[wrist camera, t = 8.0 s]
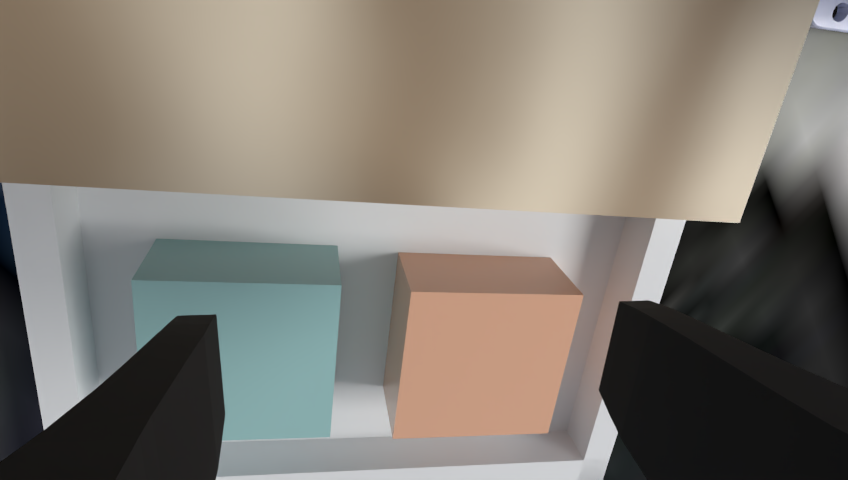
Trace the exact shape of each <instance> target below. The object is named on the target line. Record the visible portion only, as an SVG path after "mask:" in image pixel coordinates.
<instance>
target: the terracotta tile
mask: <svg viewBox="0 0 848 480" xmlns="http://www.w3.org/2000/svg"><path fill="white" fill-rule="evenodd" d="M583 296H584V295H583V294H582V293H581V291H580V290H579V289H578V288H577V287H576V286H575V285H574V284H573V282H572V281H571V280H570V279H569V278H568V277H567V276H566V275H565V273H564V272H563V271H562V270H561V269H560V268H559V267H558V265H557V264H556V263H555V262H554V261H553V260H552V259H551V258H550V257H521V256H492V255H463V254H434V253H405V252H398V258H397V267H396V275H395V284H394V293H393V302H392V311H391V320H390V328H389V337H388V346H387V355H386V364H385V372H384V381H383V389H384V395H385V400H386V406H387V411H388V417H389V422H390V427H391V433H392V438H393V439H404V438H432V437H459V436H487V435H515V434H543V433H548V431H549V427H550V424H551V420H552V416H553V412H554V408H555V404H556V400H557V397H558V393H559V389H560V385H561V381H562V377H563V373H564V370H565V366H566V362H567V358H568V354H569V350H570V346H571V343H572V339H573V335H574V331H575V327H576V323H577V319H578V316H579V312H580V308H581V304H582V300H583Z"/></svg>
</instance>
